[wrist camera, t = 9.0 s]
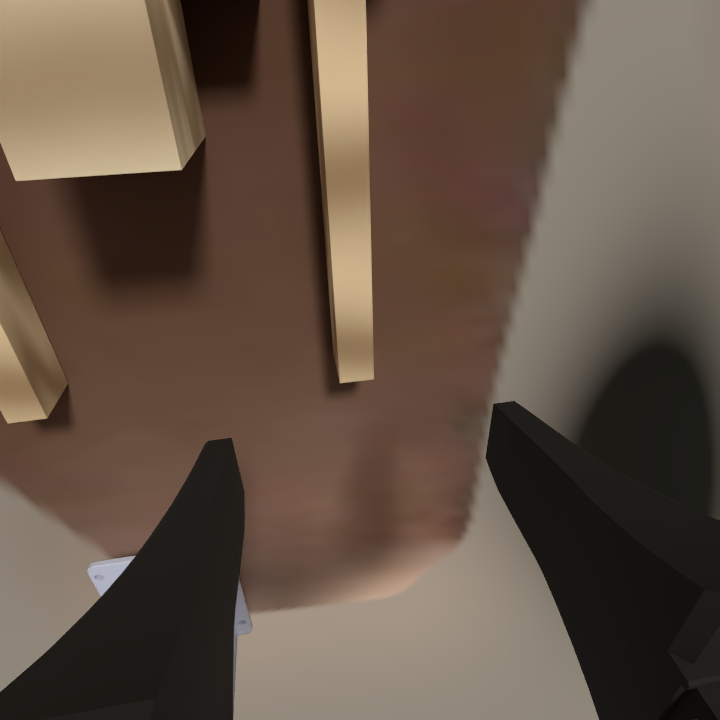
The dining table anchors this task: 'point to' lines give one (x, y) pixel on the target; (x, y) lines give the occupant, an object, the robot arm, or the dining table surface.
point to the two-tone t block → (96, 88)
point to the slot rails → (340, 213)
